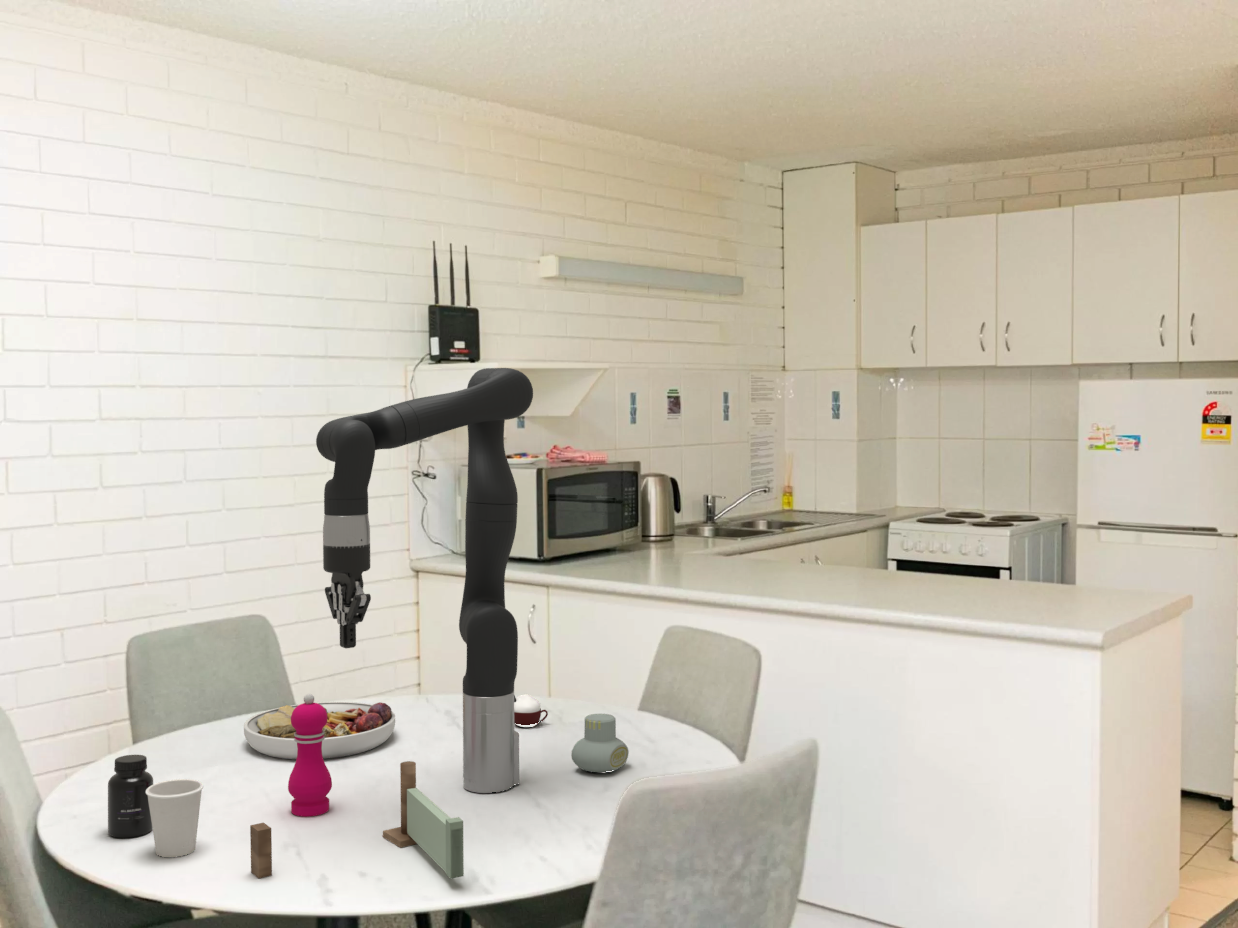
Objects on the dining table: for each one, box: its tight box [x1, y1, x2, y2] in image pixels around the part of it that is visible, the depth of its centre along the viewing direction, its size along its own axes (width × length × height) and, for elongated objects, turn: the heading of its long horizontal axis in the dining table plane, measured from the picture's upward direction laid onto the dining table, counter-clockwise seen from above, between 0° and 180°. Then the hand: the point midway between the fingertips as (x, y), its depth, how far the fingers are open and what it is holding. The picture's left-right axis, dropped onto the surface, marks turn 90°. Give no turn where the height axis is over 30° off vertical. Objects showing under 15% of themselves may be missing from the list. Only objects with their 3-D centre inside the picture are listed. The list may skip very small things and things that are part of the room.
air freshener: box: [571, 713, 630, 773], centre depth 228 cm, size 11×8×10 cm
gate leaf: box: [407, 787, 465, 879], centre depth 181 cm, size 21×2×8 cm, turn 27°
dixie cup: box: [146, 778, 204, 858], centre depth 186 cm, size 8×8×10 cm
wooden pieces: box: [249, 760, 418, 879], centre depth 185 cm, size 28×6×12 cm, turn 128°
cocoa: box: [514, 693, 549, 725], centre depth 260 cm, size 10×6×12 cm, turn 74°
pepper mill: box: [287, 693, 333, 818], centre depth 204 cm, size 7×7×20 cm
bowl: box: [243, 701, 396, 760], centre depth 247 cm, size 30×30×8 cm
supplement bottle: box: [107, 754, 154, 839], centre depth 195 cm, size 7×7×12 cm
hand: (347, 646), depth 198 cm, fingers closed
